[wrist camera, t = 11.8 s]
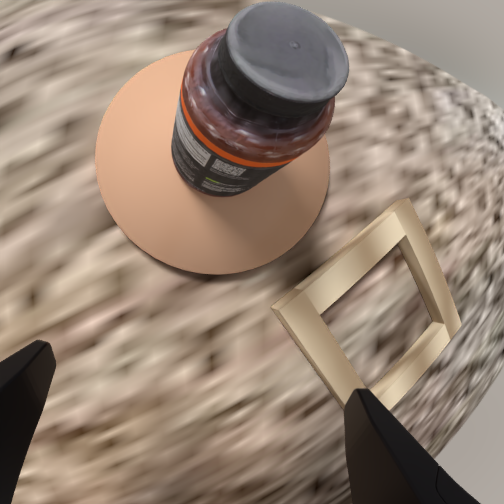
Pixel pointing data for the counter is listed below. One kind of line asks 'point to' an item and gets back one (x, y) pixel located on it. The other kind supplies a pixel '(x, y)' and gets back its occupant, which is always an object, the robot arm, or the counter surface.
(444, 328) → the birch collar
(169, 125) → the terracotta pad
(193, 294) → the counter surface
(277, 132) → the supplement bottle
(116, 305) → the counter surface
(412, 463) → the robot arm
